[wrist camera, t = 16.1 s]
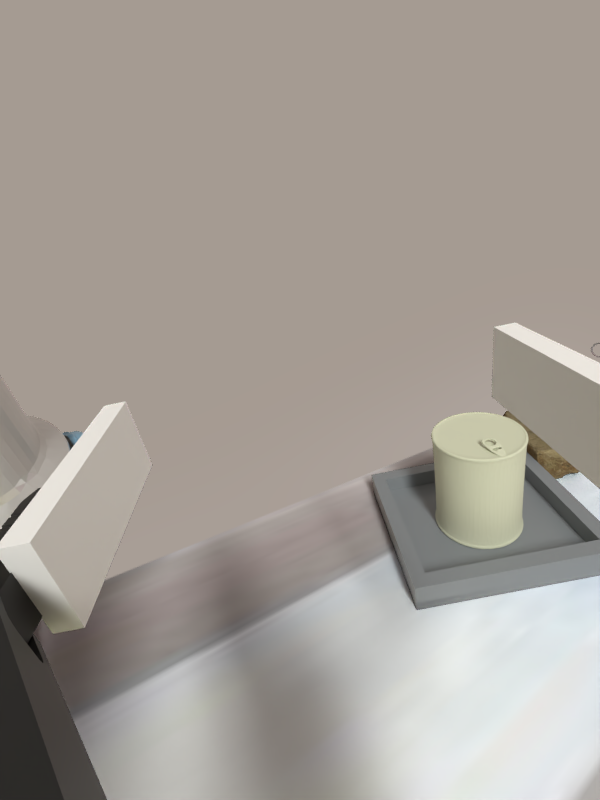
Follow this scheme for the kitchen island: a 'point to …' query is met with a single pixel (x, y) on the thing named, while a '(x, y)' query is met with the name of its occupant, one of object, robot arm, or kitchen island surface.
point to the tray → (486, 568)
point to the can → (479, 478)
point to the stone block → (545, 453)
